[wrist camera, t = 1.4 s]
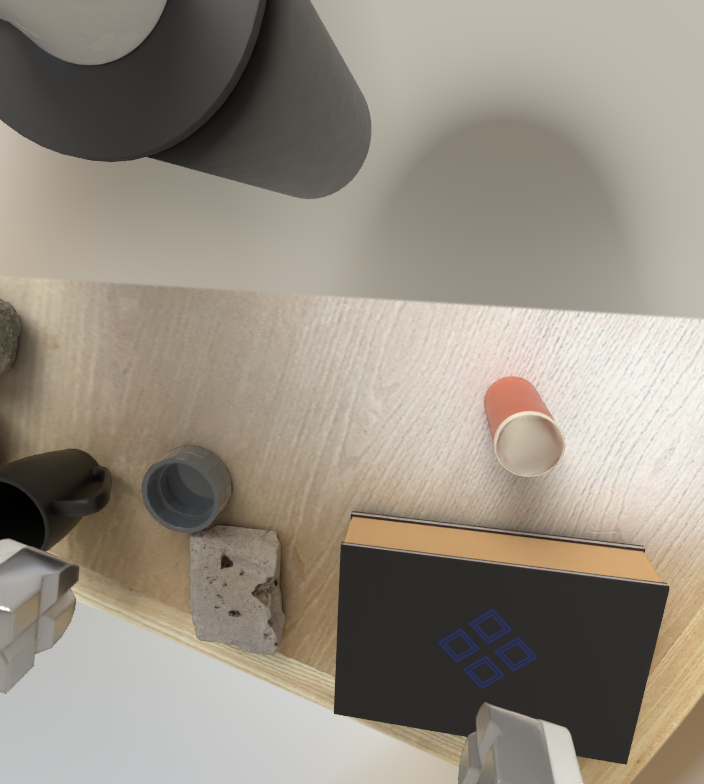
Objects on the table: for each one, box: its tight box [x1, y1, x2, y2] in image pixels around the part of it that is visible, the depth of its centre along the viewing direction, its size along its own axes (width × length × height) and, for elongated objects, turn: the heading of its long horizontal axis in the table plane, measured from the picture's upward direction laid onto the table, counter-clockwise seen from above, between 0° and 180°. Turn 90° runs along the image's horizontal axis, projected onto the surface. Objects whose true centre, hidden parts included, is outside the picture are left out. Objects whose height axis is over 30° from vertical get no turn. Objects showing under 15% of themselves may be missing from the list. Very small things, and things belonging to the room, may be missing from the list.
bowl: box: [142, 446, 231, 533], centre depth 50 cm, size 7×7×4 cm
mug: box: [0, 449, 112, 552], centre depth 49 cm, size 8×12×10 cm
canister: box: [484, 377, 565, 477], centre depth 40 cm, size 4×4×10 cm
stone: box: [189, 525, 286, 655], centre depth 52 cm, size 13×6×10 cm
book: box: [334, 511, 669, 765], centre depth 48 cm, size 17×25×7 cm
